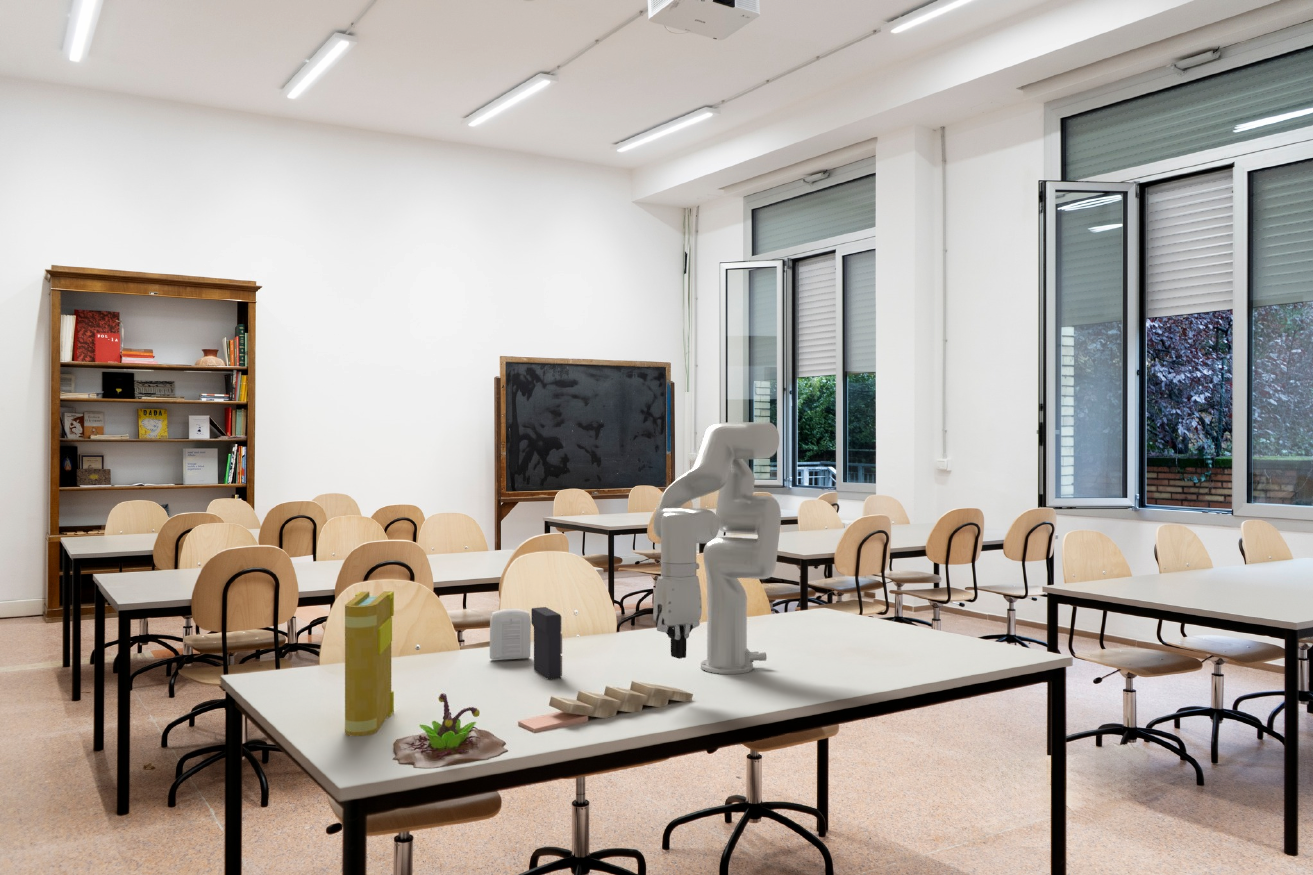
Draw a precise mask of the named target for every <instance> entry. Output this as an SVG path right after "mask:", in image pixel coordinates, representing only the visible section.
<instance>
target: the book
mask: <svg viewBox="0 0 1313 875" xmlns="http://www.w3.org/2000/svg"><path fill="white" fill-rule="evenodd" d="M394 608H395V591H394V590H393V591H390V590H389V591H388V590H386V591H383V592H381V593H380V594H379V595H378V596H370V591H358V592H357V593H355V596H353V598H352V599H351V600H349V601H348V602H346V604H344V733H346V734H345V735H347V736H350V735H352V736H353V737H364V736H370V735H372V734H375V733H377V732H378V730H380V728H381V727H382V725H383V723H385V721H386V720H385V719H387V718H388V717H392V715H393V713H394V712H393V711H394V710H395V708H394V707H395V706H394V705H395V693H394V692H395V691H394V690H393V691H392V641H393V617H394V615H395V610H394ZM380 726H381V727H380ZM352 736H351V737H352Z"/></svg>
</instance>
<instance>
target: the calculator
mask: <svg viewBox="0 0 1313 875" xmlns="http://www.w3.org/2000/svg"><path fill="white" fill-rule="evenodd" d="M530 612H531V614H530V619H531V626H532V627H533V670H534V671H535V672H536V673H538V674H539V675H541V676H542V677H544V678H545V679H547V680H548V681H552V680H560V679H561V678H562V677H563V655H562V654H563V633H562V625H563V624H562V616H561V614H560V613H559V612H556V611H554V610H552V609H551V608H549V607H546V606H542V607H541V606H540V607H532V608H531V610H530Z"/></svg>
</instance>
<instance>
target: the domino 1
mask: <svg viewBox="0 0 1313 875" xmlns="http://www.w3.org/2000/svg"><path fill="white" fill-rule="evenodd" d="M587 722H589V716H586V715H579V714H572V713H565V712H563V711H560V710H559V711H556V712H551V713H547V714H544V715H543V714H542V715H539V716H534V717H530V718H526V719H521V720H518V721H517V725H518V727H522V728H524V729H526V730H528V731H530V732H533V733H538V732H543V731H548V730H554V729H558V728H562V727H567V726H573V725H576V724H577V725H578V724H582V723H587Z"/></svg>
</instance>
